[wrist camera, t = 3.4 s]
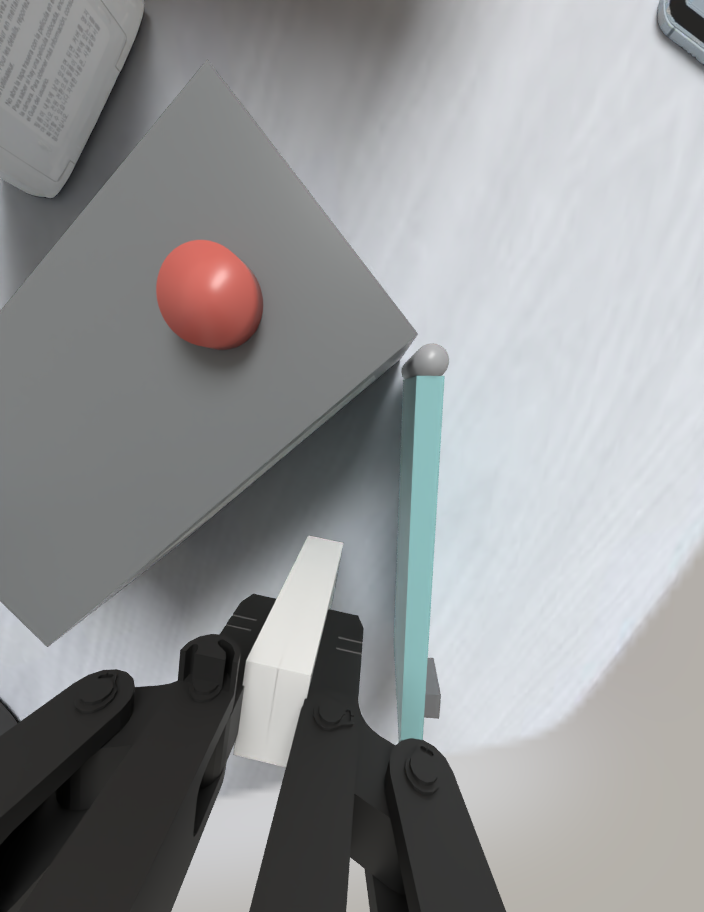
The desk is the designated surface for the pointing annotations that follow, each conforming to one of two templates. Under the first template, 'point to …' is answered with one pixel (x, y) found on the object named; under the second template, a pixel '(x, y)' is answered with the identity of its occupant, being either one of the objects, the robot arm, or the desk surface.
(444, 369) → the side door
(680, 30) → the smartphone
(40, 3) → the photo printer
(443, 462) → the desk surface
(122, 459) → the camera body
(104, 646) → the desk surface
